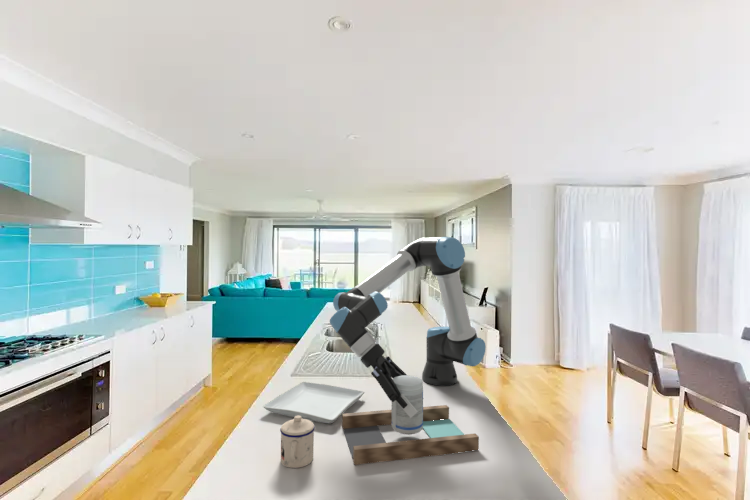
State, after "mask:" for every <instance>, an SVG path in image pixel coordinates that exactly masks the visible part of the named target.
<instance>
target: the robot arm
mask: <svg viewBox="0 0 750 500" xmlns="http://www.w3.org/2000/svg"><path fill="white" fill-rule="evenodd" d="M465 258H466V252H465V249H464V245H463V244H462V242H461V241H460V240H459V239H457V238H455V237H450V236H432V237H429V236H428V237H426V236H425V237H420V238H417V239H415V240H414V241H412V242H409V244H407V245H406V246H404V247H403V248H402V249H400V250H398V252H397V254H396V256H394V257H393V258H392V259H391V260H389V261H388V262H386V263H385V264H384V265H382V266H381V267H380V268H378V269H377V270H376V271H374V272H373V273H372V274H370V275H369V276H367V277H366V278H365V279H363V280H362V281H361V282H359V283H358V284H357V285H355V286H354V287H352V288H351V289H349V290H348V291H347V292H346V291H344V292H338V293H337V294H336V295H335V296H334V298H333V299H332V300H333V301H332V305H333V307H334V309H335V311H336V312H335V313H334V314H333V315H331V317H330V319H329V324H330V326H331V327H332V328H333V330H334V331H335V333H336V334H338V336H340V338H341V339H342V340H343V342H344V343H345V344H347V346H348V347H349V348H350V350H351V353H352V354H355V355H356V357H357V358H360V362H361V363H362V364H363V365H364V366H365V367H366V368H368V369H369V368H370V367H371V368H372V369H373V371H371V376H373V377H374V379H375V380H376V381H377V383H378V385H379V386H380V387H381V389H382V390H383V391H384V393H385V394H386V396H387V398H388V399H389V400H390V402H391V403H392V402H394V401H395V400H396V401H397V403H398V404H399V405H400V406H401V407H402V409H403V410H404V411H405V412H406V413H407V414H408V416H409V417H410V418H411V417H413V416H414V415H415V414H416V413H417V412H418V411H417V410H416V409H415V408H414V406H413V405H412V404H411V403H410V402H409V401H408V399H407V398H406V397H405V396H404V395H403V394H400V392H399V390H398V388H397V386H396V385H395V383H394V381H393V378H394V377H397V376H402V375H408V374H406V372H405V371H404V370H402V369H401V368H400V367H399V366H398V365H397V364H396V363H395V362H394V361H393V360H392V358H391V357H390V356H386V357H384V356H383V355H384V354H385V352H386V351H385V349H384V348H383V347H382V346H381V345H380V344H379V343H377V340H376V339H375V338H374V336H373V335H372V334H371V333H369V331H368V330H367V329H366V328H367V327H368V326H369V325H370V324H371V323H373V322H374V321H376V320H377V318H379V317H380V316H382V314H383V313H384V312H385V311H386V310H387V309H388V306H389V305H388V301H387V300H386V297H385V296H384V295H383V294H382V293H381V292H383V291H384V290H385V289H387V288H389V287H390V286H391V285H392V284H393V283H395V282H396V281H397V280H399V279H401V277H402V276H404V275H405V274H407V272H413V271H414V270H416V269H418V268H420V267H421V268H422V267H430V271H431V274H432V276H433V277H436V279H437V283H438V287H439V291H440V296H441V300H442V304H443V307H444V313H445V316H446V320H447V324H448V326H434V327H430V328H428V330H427V331H426V359H425V360H426V361H425V364H424V368H423V371H422V374H421V375H422V376H421V379H422V382H424V383H426V384H429V385H432V384H433V385H432V386H438V385H448V386H451V385H450V384H453V385H455V384H456V382H457V383H458V375H457V371H456V368H455V364H454V362H455V363H458V364H462V365H464V366H469V367H476V366H479V364H480V363H481V362H482V360H483V359H484V357H485V355H486V350H487V349H486V348H487V347H486V342H485V341H484V339H482V338H481V337H478V334H477V330H476V329H475V328H474V327H473V326H471V322H470V321H471V320H470V317H469V312H468V307H467V304H466V300H465V295H464V291H463V286H462V281H461V278H460V271H461V270H462V266H463V264H464V262H465ZM454 383H455V384H454ZM423 400H424V397H423Z"/></svg>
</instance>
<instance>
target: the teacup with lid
mask: <svg viewBox="0 0 750 500" xmlns="http://www.w3.org/2000/svg"><path fill="white" fill-rule="evenodd" d="M279 431H280V432H279V433H280V463H281V464H282V465H283V466H285V467H286V468H291V469H299V468H303V467H306V466H308V465H309V464H311V463H312V461H313V460H314V444H315V443H314V439H315V438H314V435H315V433H314V432H315V424H314V421H311V420H307V419H302V417H301V416H299V415H297V416H295V417H293V419H289V420H287V421H285V422H284V423H283V424H282V425H281V427H280V429H279Z"/></svg>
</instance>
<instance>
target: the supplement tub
mask: <svg viewBox="0 0 750 500" xmlns="http://www.w3.org/2000/svg"><path fill="white" fill-rule="evenodd" d="M392 379H393V381H394V383H395V385H396V386H397V388H398V390H399V392H400V394H403V395H404V396H405V397H406V398H407V399H408V401H409V402H410V403H411V404H412V405H413V406H414V408H415V409H416V410H417V411H418V412H417V413H416V414H415V415H414V416H413V417H411V418H410V417H409V416H408V414H407V413H406V412H405V411H404V410H403V409H402V407H401V406H400V405H399V404H398V403H397V401H396V400H395V401H394V402H392V401H391V410H392V425H391V428H392V430H394V431H395V432H396V433H398V434H401V435H409V436H410V435H415V434H419V433H420V432H421V431H422V430H423V407H424V399H423V398H424V385H423V382H424V381H423V380H422V378H421V377H418V376H417V375H416V376H415V375H408V374H407V375H402V376H397V377H394V378H392Z"/></svg>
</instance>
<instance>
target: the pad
mask: <svg viewBox="0 0 750 500" xmlns="http://www.w3.org/2000/svg"><path fill="white" fill-rule="evenodd" d="M422 430H423V431H424V433H426V434H427V436H428V438H436V437H446V436H456V435H465V433H464V432H463V431H462V430H461V429H460V428H459V427H458V426H457V425H456V423H454V422H453V421H452V420H451V418H449V419H444V420H434V421H423V428H422Z"/></svg>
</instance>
